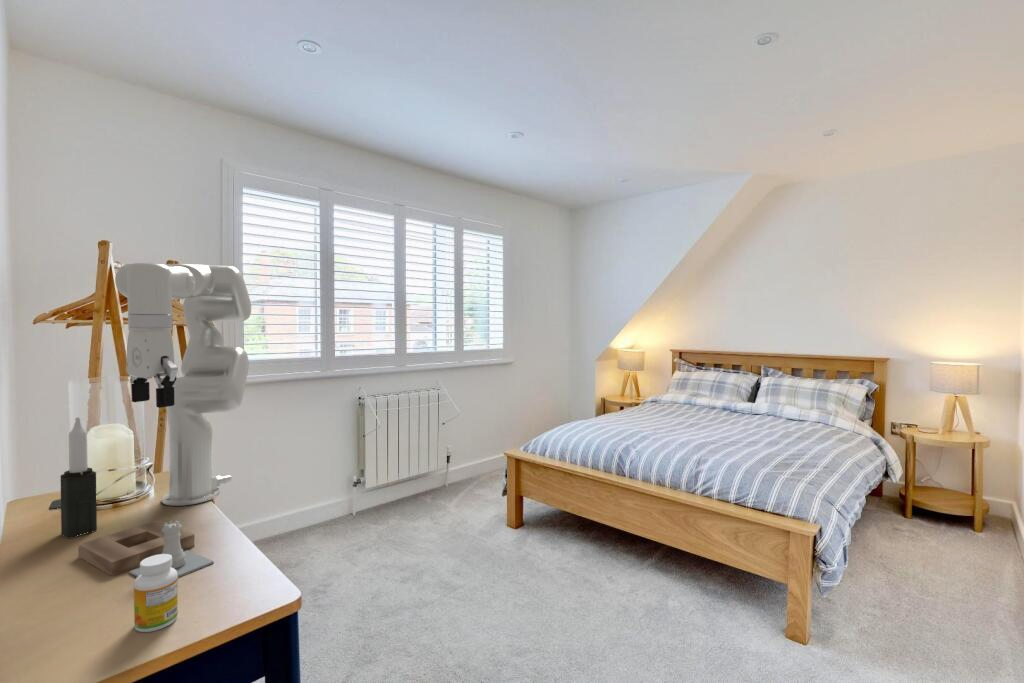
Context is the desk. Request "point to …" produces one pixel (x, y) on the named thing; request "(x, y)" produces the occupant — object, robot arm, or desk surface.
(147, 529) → the collar block
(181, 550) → the rook chess piece
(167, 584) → the supplement bottle
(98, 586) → the desk surface
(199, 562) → the rubber mat
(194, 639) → the desk surface
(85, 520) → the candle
